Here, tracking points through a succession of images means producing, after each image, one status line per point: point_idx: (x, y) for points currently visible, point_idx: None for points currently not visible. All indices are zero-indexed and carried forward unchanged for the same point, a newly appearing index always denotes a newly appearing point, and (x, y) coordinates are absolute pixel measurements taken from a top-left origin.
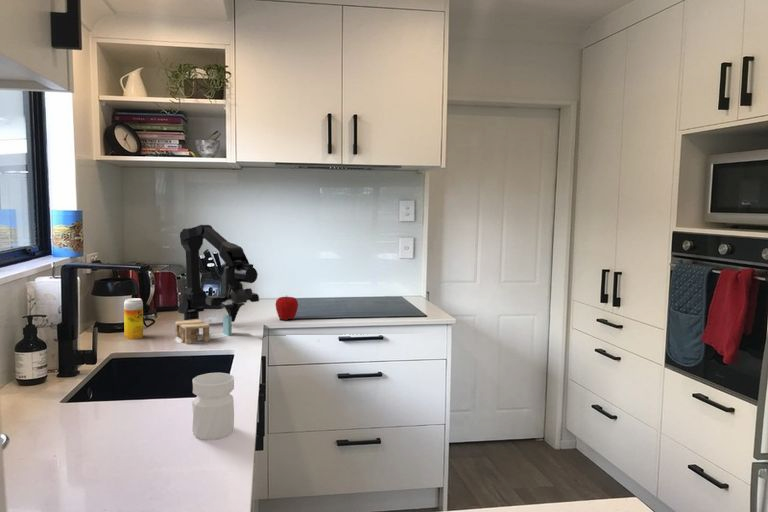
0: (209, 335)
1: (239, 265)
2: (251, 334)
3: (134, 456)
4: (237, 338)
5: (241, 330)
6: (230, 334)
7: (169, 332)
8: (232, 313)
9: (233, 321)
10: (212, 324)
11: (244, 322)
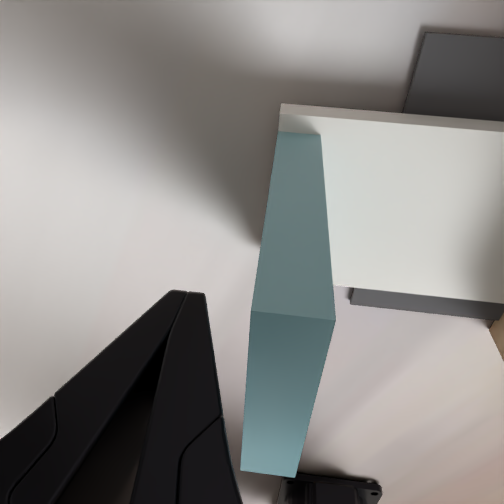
0: (464, 271)
1: None
2: (21, 175)
3: None
4: (205, 110)
5: (81, 325)
6: (292, 138)
7: (490, 489)
8: (176, 415)
9: (186, 291)
10: None
11: None
